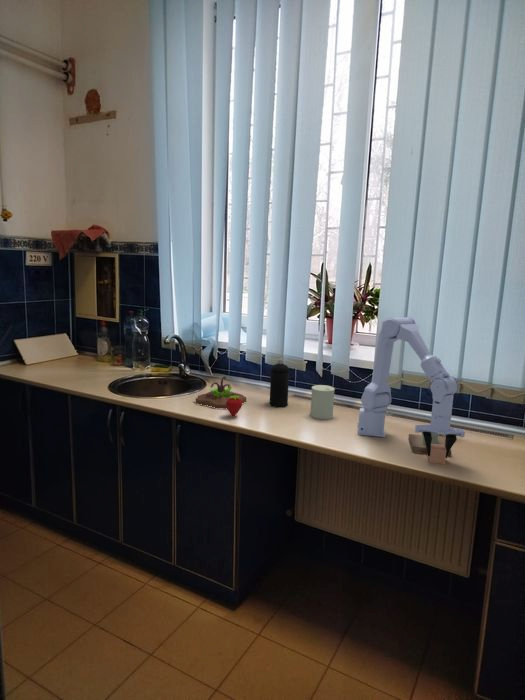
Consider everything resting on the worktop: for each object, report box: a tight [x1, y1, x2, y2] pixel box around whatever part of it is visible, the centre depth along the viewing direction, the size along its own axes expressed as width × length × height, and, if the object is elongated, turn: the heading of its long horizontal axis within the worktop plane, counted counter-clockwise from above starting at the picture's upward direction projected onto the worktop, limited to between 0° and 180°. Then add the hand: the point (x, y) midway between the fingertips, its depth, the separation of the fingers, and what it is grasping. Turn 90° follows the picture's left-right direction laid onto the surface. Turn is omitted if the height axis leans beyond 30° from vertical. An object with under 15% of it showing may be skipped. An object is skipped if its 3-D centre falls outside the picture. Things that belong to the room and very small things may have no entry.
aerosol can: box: [268, 357, 291, 408], centre depth 201 cm, size 8×8×20 cm
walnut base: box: [407, 433, 452, 457], centre depth 161 cm, size 12×12×2 cm
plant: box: [195, 375, 247, 408], centre depth 204 cm, size 20×20×11 cm
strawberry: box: [226, 395, 243, 417], centre depth 185 cm, size 6×8×10 cm
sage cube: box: [421, 432, 439, 444], centre depth 160 cm, size 4×4×4 cm
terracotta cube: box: [427, 444, 447, 465], centre depth 150 cm, size 4×4×4 cm
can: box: [309, 384, 336, 420], centre depth 190 cm, size 9×9×12 cm
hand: (436, 455), depth 151 cm, fingers closed on terracotta cube, 4 cm apart
